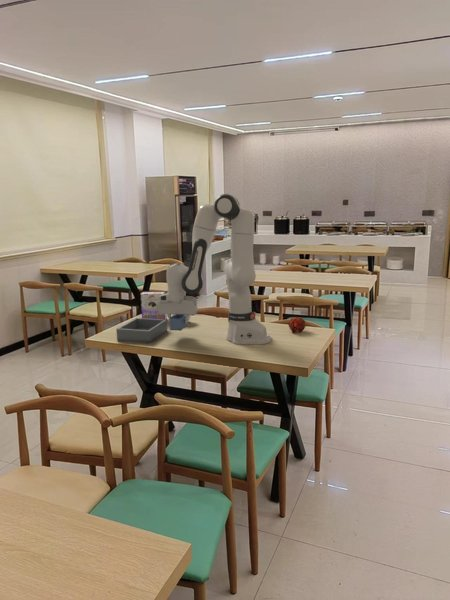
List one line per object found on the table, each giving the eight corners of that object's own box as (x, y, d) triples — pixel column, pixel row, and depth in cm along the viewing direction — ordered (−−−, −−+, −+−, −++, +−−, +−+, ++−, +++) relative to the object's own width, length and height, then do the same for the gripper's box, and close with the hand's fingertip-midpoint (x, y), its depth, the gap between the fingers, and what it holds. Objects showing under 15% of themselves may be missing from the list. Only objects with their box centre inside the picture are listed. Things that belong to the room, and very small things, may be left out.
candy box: (167, 318, 277) (165, 291, 274) (164, 321, 272) (163, 293, 268) (144, 318, 279) (142, 291, 275) (141, 321, 273) (140, 293, 269)
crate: (167, 330, 253) (166, 319, 252) (149, 342, 232) (149, 331, 231) (136, 328, 258) (136, 317, 257) (117, 340, 237) (116, 328, 236)
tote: (188, 324, 242) (187, 313, 241) (181, 330, 233) (180, 318, 232) (177, 324, 244) (176, 313, 243) (169, 330, 235) (169, 318, 233)
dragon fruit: (301, 331, 253) (295, 340, 243) (288, 321, 254) (282, 330, 244) (310, 320, 249) (304, 329, 238) (297, 310, 250) (291, 319, 239)
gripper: (198, 294, 235) (200, 321, 238) (160, 294, 241) (162, 320, 244) (194, 297, 229) (196, 324, 232) (155, 297, 235) (157, 323, 238)
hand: (178, 322), depth 238 cm, fingers closed on tote, 6 cm apart
